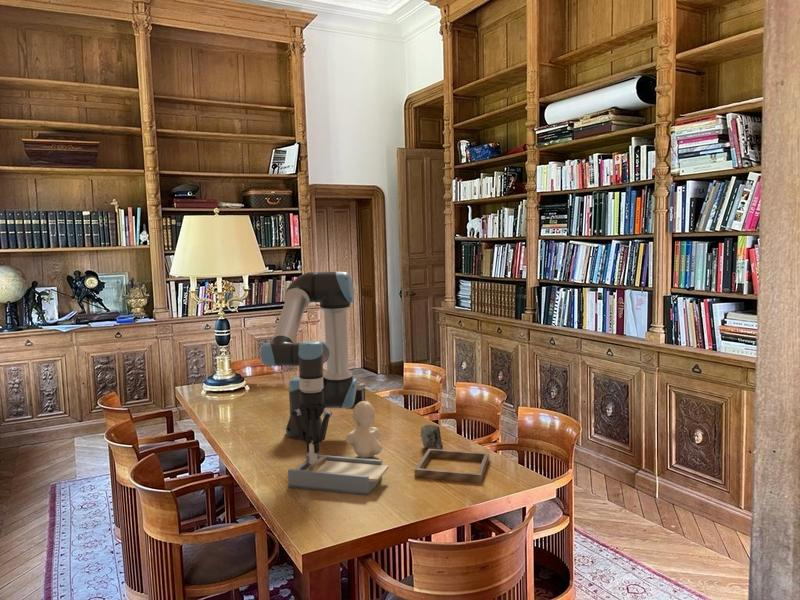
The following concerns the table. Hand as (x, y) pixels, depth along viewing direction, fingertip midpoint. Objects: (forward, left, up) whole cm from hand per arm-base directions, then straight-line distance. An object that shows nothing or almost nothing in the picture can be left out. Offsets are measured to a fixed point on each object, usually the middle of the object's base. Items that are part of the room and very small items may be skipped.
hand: (313, 462), depth 198 cm
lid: (+11, 0, -2) cm, 11 cm away
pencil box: (+8, 0, -6) cm, 10 cm away
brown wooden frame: (+42, +20, -6) cm, 47 cm away
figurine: (+10, +24, -6) cm, 27 cm away
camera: (-20, +95, -6) cm, 97 cm away
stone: (+31, +38, -6) cm, 49 cm away
